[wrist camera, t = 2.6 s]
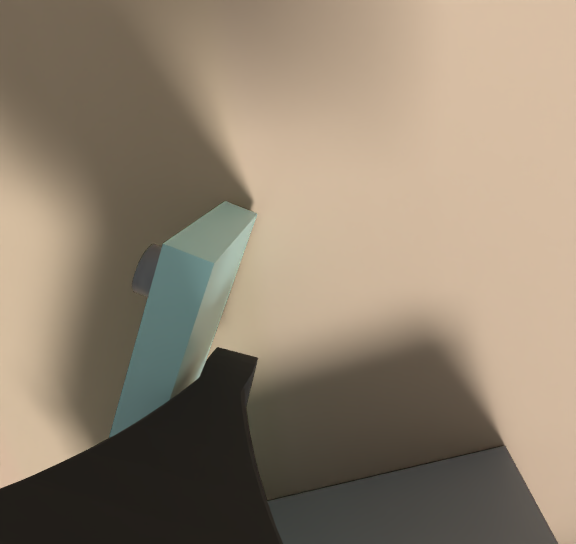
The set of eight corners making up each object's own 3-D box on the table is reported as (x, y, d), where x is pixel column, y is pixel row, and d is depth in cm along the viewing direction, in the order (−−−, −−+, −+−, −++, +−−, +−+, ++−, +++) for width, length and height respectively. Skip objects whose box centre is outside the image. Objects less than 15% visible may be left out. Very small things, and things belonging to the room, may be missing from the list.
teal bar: (152, 518, 13) (81, 671, 10) (105, 500, 13) (16, 647, 10) (260, 213, 10) (216, 267, 6) (197, 188, 10) (113, 227, 6)
